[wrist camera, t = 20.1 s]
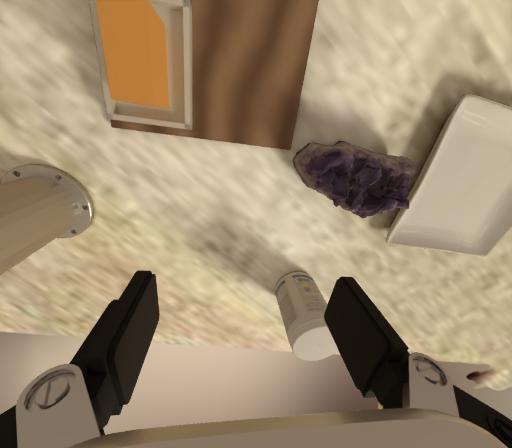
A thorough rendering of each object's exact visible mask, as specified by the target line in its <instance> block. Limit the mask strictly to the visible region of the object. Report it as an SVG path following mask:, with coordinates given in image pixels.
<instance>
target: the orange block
mask: <svg viewBox="0 0 512 448" xmlns="http://www.w3.org/2000/svg"><path fill="white" fill-rule="evenodd" d="M96 5H97V12H98V18H99V25H100V31H101V38H102V44H103V51H104V57H105V63H106V70H107V76H108V83H109V89H110V96H111V99H112V100H118V101H123V102H128V103H134V104H140V105H147V106H155V107H162V108H169V91H168V72H167V52H166V33H165V25H164V23H163V22H162V20H161V19H160V17H159V16H158V14H157V13H156V11H155V10H154V8H153V7H152V5H151V4H150V3H149V1H148V0H96Z"/></svg>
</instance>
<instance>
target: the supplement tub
mask: <svg viewBox="0 0 512 448" xmlns="http://www.w3.org/2000/svg"><path fill="white" fill-rule="evenodd" d="M275 294H276V298H277V301H278V305H279V308H280V312H281V315H282V319H283V322H284V326H285V330H286V333H287V337H288V340H289V343H290V346H291V348H292V351H293V353H294V354H295V356H296V357H298V358H300V359H302V360H307V361H315V360H320V359H323V358H326V357H328V356H330V355H332V354H333V353H334V352H336V351H337V350H338V348H337V346H336V344H335V342H334V339H333V337H332V335H331V333H330V331H329V329H328V327H327V325H326V323H325V320H324V313H325V310H326V308H327V303H326V301H325V300H324V298H323V296H322V294H321V292H320V290H319V289H318V287H317V285H316V283H315V282H314V280H313V278H312V277H311V276H310V275H308V274H306V273H303V272H293V273H289V274H287V275H285V276H284V277H283V278H281V279H280V280H279V282H278V283H277V285H276V288H275Z"/></svg>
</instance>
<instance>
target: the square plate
mask: <svg viewBox="0 0 512 448" xmlns="http://www.w3.org/2000/svg"><path fill="white" fill-rule="evenodd" d="M407 199H408V200H409V209H406V210H403V209H400V211H399V212H398V214H397V216H396V218H395V220H394V222H393V223H392V225H391V227H390V229H389V232H388V235H387V237H386V242H387V243H388V244H392V245H398V246H407V247H416V248H424V249H432V250H439V251H446V252H452V253H459V254H465V255H472V256H480V257H485V256H487V255H488V254H489V253H490V252H491V251H492V249H493V248H494V247H495V246H496V245H497V244H498V242H499V241H500V240H501V239H502V238H503V237H504V235H505V234H506V233H507V232H508V231H509V230H510V228H511V227H512V107H509V106H506V105H504V104H501V103H498V102H495V101H492V100H489V99H486V98H483V97H480V96H477V95H473V94H468V93H467V94H464V95H463V96H462V97H461V99H460V101H459V102H458V103H457V105H456V106H455V108H454V110H453V111H452V113H451V114H450V116H449V118H448V119H447V121H446V123H445V125H444V127H443V129H442V131H441V132H440V134H439V137H438V139H437V141H436V143H435V145H434V147H433V149H432V151H431V153H430V155H429V157H428V159H427V161H426V163H425V165H424V167H423V169H422V171H421V173H420V175H419V177H418V179H417V180H416V182H415V184H414V186H413V188H412V190H411V191H410V193H409V195H408V197H407Z"/></svg>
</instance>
